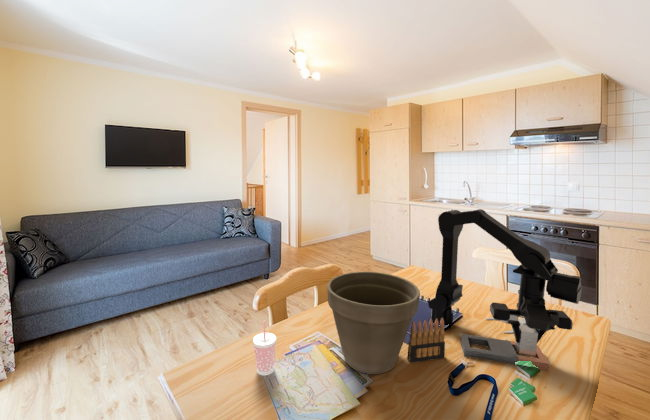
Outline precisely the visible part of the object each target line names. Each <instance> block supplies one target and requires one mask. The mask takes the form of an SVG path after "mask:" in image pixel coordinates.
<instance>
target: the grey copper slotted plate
mask: <svg viewBox="0 0 650 420" xmlns="http://www.w3.org/2000/svg"><path fill="white" fill-rule="evenodd" d="M515 342H516V341H512V340H507V339H501V338H500V339H498V338H493V337H488V336H487V337H485V336H479V335H474V334H466V333H460V344H461V348H462V353H463V356H464V357H467V358H472V359H473V358H474V359H479V360H484V361H492V362H496V363H502V364H507V365H508V364H510V365H514V366H516V365H515V362H517V361H531V362H532V364H533V365H535V366H536V367H538V368H539V369H538V370H543V371H550V363H549V361H548V359H547V358H546V356H545V354H544V353H543V351H542V350H541V348H540V346H539V345H538V344H537V348H536V356H535V357H533V356H526V355H520V354H518V353H517V352H518V351H517V349H516V347H515ZM471 345H474V346H475V345H476V346H482V347H486V348H487V349H484V348H478V347H477V348H475V347H471Z"/></svg>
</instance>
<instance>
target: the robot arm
mask: <svg viewBox="0 0 650 420" xmlns="http://www.w3.org/2000/svg"><path fill="white" fill-rule="evenodd" d="M437 222H438V229H439V232H440V234H441V237H442V248H441V249H442V253H441V272H440V273H441V275H440V276H441V279H440V280H439V283H438V285H437V287H436V291H435V297H434V298H431V300H429V301H427V304H428V308H429V309H431V311H430V312H431V315H430V319H432V322H433V323H435V320H436V318H437V319H438V324H439V325H440V321H441V319H442V318H443V319H444V325H448V324H449V326H448V327H447V328H446V329H447V330H448V329H449V330H451V329H452V326H453V323H454V310H453V309H452V306H455V304H456V303H458V302H459V301H460V300H461V298H462V297H463V295H464V294H463V287H464V286H463V284H459V282H458V279H457V272H458V271H457V269H458V250H459V249H458V247H459V238H460V235H461V232H462V231H463V228H464V225H468V224H475V225H477V226H478V227H479V229H482V230H483V231H484V232H486V233H487V234H489V236H491V237H493V239H496V240H497V241H498V242H499V243H500V244H502V245H503V246H505V247H506V248H507V249H508V250H510V252H511V253H512V255H513V256H514V258H515V259H516V260H517V261H518V262H519V263H520V265H518V266H517V267H516V268H514V269H513V270H512V273H514V274H518V275H520V281H519V282H520V283H519V289H518V290H517V291H518V292H517V294H518V300H517V303H516V307H517V308H516V309H515V308H509V307H508V306H507V304H506V303H501V302H492V303H491V304H490V305H489V312H490V314H491V316H492V318H494V319H496V320H495V321H500V320H503V321H506V322H508V323H507V324H510V325H511V330H513V332H514V333H513V336H514V339H515V342H517V343H518V342H519V326H520V323H519V318H521V319H522V318H525V321H526V325H527V326H528V327H529V328H532V329H534V328H535V330H536V331H537V333H538V339H537V344H539V342H540V341H541V338H542V337H543V336H544V334H546V333H547V332H548V331H551V330H552V331H554V330H556V328H558V329H562V330H570V331H571V330H572V329H573V325H574V323H573V320H572V319H571V318H570V317H569V315H568V314H567V313H566V312H565V311H564V310H559V309H558V310H556V309H550V308H549V309H547V307H546V299H545V297H544V296H545V290H546V292H547V295H549V296H550V297H551V298H554V299H558V300H561V301H564V302H568V303H573V304H576V305H578V304H579V302H580V299H581V296H582V290H583V288H582V277H581V276H577V275H569V274H565V273H561V272H559V269H558V268H557V266H556V265H555V264H554V263H553V261H552V259H551V253H550V251H549V249H547V248H546V247H544V246H543V245H540V244H538V243H537V242H534V241H531V240H529V239H527V238H526V239H525V238H524V237H521V236H520V235H518V234H517V233H516V232H514V231H513V230H511V229H510V228H508V227H507V226H505V225H504V224H503V223H501V222H500V221H498V220H497V219H495V218H494V217H493V216H492V215H490V214H488V213H487V212H486V211H485V210H484V209H481V208H478V209H474V210H467V211H460V210H459V209H452V210H448V211H444V212H441V214H439V215H438V218H437ZM546 281H547V282H546Z"/></svg>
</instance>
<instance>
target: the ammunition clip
mask: <svg viewBox="0 0 650 420" xmlns="http://www.w3.org/2000/svg"><path fill="white" fill-rule="evenodd" d="M415 322H416V321H415V320H413V321H411V325H410V326H411V327H410V334H409V342H408V348H407V356H406V357H407V360H408V362H409V363H410V364H412V363H421V362H426V361H434V360H435V361H436V360H442V359H445V358H446V357H445V355H446V354H445V353H446V352H445V351H446V350H445V349H446V348H445V347H446V342H445V328H444V319H443V318H442V319H441V321H440V327H439V324H438V319H437V318H436V320H435V323H434V326H433V322H432V319H431V318H430V320H429V322H428V321H427V319H424V321H423V325H422V322H421V319H420V320H418V321H417V325H416V323H415Z"/></svg>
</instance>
